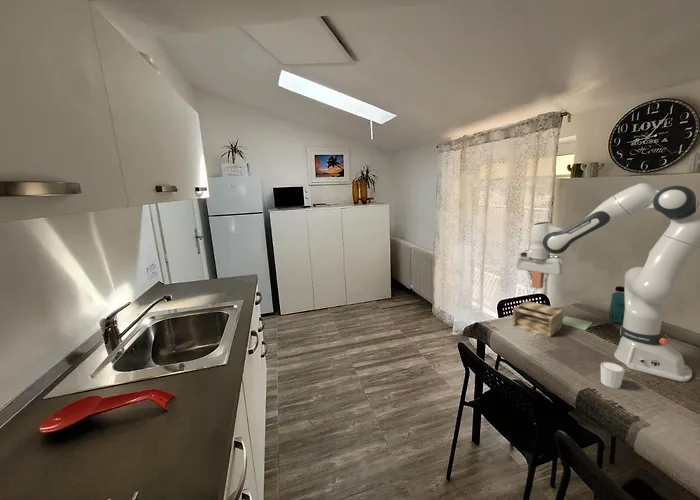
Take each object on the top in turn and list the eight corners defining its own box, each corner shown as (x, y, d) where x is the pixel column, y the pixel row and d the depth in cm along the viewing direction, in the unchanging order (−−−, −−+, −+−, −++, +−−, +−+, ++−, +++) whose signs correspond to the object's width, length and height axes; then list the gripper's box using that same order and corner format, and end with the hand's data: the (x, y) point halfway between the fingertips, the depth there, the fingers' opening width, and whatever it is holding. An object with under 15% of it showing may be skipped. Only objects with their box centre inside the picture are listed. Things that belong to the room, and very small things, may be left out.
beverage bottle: (605, 320, 162) (609, 285, 159) (618, 320, 161) (623, 284, 158) (613, 325, 156) (618, 289, 152) (628, 325, 155) (632, 288, 151)
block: (543, 287, 153) (544, 270, 151) (539, 288, 151) (541, 271, 149) (534, 285, 156) (535, 268, 154) (531, 287, 154) (532, 270, 152)
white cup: (616, 391, 108) (618, 374, 106) (594, 381, 114) (596, 364, 113) (626, 385, 110) (629, 368, 109) (605, 375, 117) (607, 359, 115)
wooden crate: (561, 327, 157) (563, 309, 155) (550, 337, 148) (551, 318, 146) (525, 317, 171) (526, 300, 169) (512, 325, 162) (513, 308, 160)
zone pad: (592, 323, 160) (592, 322, 160) (585, 330, 153) (585, 329, 152) (566, 316, 169) (566, 316, 169) (558, 323, 162) (558, 322, 162)
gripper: (565, 255, 144) (563, 283, 146) (520, 250, 160) (519, 275, 162) (560, 257, 140) (558, 285, 143) (515, 252, 156) (514, 278, 159)
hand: (537, 280), depth 153 cm, fingers closed on block, 4 cm apart
